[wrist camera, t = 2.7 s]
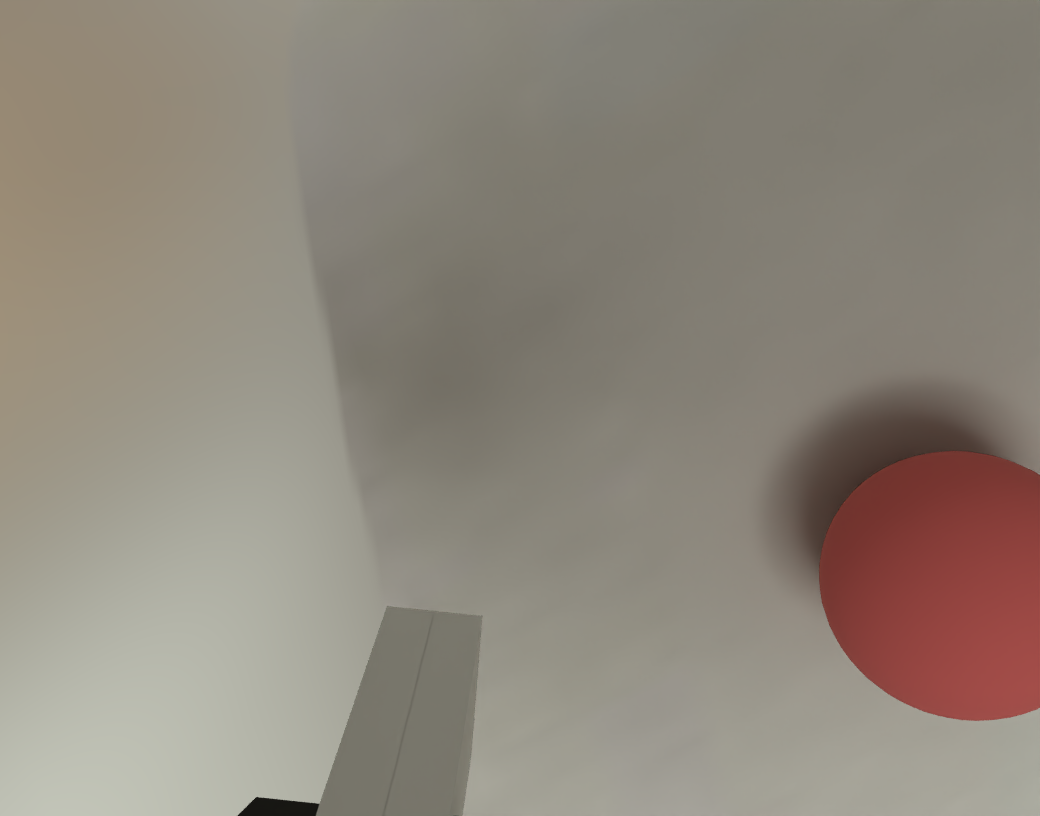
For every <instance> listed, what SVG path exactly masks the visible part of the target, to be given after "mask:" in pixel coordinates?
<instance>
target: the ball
mask: <svg viewBox="0 0 1040 816" xmlns="http://www.w3.org/2000/svg"><path fill="white" fill-rule="evenodd" d="M819 582H820V592H821V598H822V604H823V607H824V610H825V613H826V616H827V619H828V622H829V625H830V627H831V629H832V631H833V633H834V635H835V637H836V639H837V641H838V642H839V644H840V646H841V648H842V649H843V650H844V652H845V653H846V655H847V656H848V657H849V659H850V660H851V661H852V662H853V663H854V665H855V666H856V667H857V668H858V669H859V670H860V671H861V672H862V673H863V674H864V675H865V676H866V677H867V678H868V679H869V680H871V681H872V682H873V683H875V684H876V685H877V686H878V687H880V688H881V689H882V690H884V691H885V692H886V693H888V694H889V695H891V696H893V697H894V698H896V699H898V700H900V701H901V702H904V703H906V704H908V705H910V706H912V707H914V708H917V709H919V710H922V711H924V712H928V713H931V714H935V715H938V716H943V717H947V718H953V719H959V720H973V721H980V720H995V719H1002V718H1009V717H1013V716H1017V715H1021V714H1025V713H1027V712H1030V711H1033V710H1036V709H1038V708H1040V475H1039V474H1037V473H1035V472H1034V471H1032V470H1030V469H1027V468H1025V467H1023V466H1021V465H1018V464H1016V463H1014V462H1011V461H1009V460H1006V459H1003V458H999V457H996V456H992V455H986V454H980V453H974V452H967V451H944V452H933V453H928V454H922V455H917V456H913V457H910V458H907V459H904V460H901V461H898V462H896V463H894V464H891V465H889V466H887V467H885V468H884V469H882V470H880V471H878V472H877V473H875V474H873V475H872V476H871V477H869V478H868V479H867V480H865V481H864V482H863V483H861V484H860V485H859V486H858V487H857V488H856V489H855V490H854V491H853V492H852V493H851V494H850V495H849V497H848V498H847V499H846V500H845V501H844V503H843V504H842V505H841V507H840V509H839V510H838V512H837V513H836V515H835V516H834V518H833V520H832V522H831V524H830V526H829V528H828V531H827V533H826V536H825V540H824V543H823V547H822V552H821V558H820V565H819Z"/></svg>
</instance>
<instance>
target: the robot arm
mask: <svg viewBox="0 0 1040 816" xmlns="http://www.w3.org/2000/svg"><path fill="white" fill-rule="evenodd" d="M481 626H482V616H477V615H467V614H458V613H448V612H438V611H428V610H418V609H408V608H398V607H389V606H387V608H386V611H385V614H384V617H383V620H382V622H381V625H380V628H379V631H378V634H377V637H376V640H375V643H374V646H373V649H372V652H371V655H370V658H369V661H368V664H367V666H366V669H365V672H364V676H363V678H362V681H361V684H360V687H359V690H358V693H357V696H356V699H355V702H354V705H353V708H352V711H351V713H350V716H349V719H348V722H347V725H346V728H345V731H344V734H343V737H342V740H341V743H340V746H339V749H338V752H337V755H336V758H335V761H334V763H333V766H332V769H331V772H330V775H329V778H328V781H327V784H326V787H325V790H324V793H323V796H322V799H321V802H320V804H316V803H306V802H297V801H287V800H278V799H269V798H259V797H256V798H255V799H254V800H253V801H252V802H251V803H250V804H249V805H248V806H247V807H246V808H245V809H244V810H243V811H242V812H241V813H240V814H239V815H238V816H462V815H463V808H464V801H465V794H466V787H467V780H468V773H469V767H470V760H471V751H472V738H473V726H474V713H475V701H476V688H477V676H478V663H479V651H480V638H481Z"/></svg>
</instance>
